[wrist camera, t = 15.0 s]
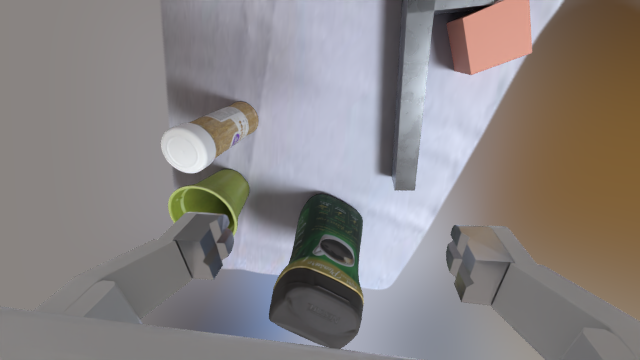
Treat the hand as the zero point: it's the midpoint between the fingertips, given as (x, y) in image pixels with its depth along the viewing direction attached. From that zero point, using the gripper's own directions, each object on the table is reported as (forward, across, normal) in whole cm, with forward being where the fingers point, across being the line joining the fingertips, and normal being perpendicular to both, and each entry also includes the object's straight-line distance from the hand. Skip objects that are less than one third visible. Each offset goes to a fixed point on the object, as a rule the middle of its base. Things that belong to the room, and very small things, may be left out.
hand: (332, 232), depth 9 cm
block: (+26, -13, -6) cm, 29 cm away
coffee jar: (+25, +3, +19) cm, 31 cm away
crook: (+26, -9, 0) cm, 27 cm away
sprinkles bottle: (+26, +15, +2) cm, 30 cm away
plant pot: (+25, +19, +13) cm, 34 cm away
